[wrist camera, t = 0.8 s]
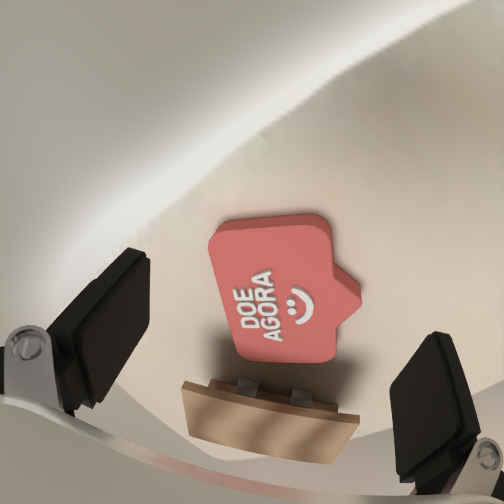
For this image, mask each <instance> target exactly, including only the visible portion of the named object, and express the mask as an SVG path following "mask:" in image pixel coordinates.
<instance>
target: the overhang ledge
mask: <svg viewBox="0 0 504 504" xmlns="http://www.w3.org/2000/svg"><path fill="white" fill-rule="evenodd" d="M259 383H260V382H258V381H253V380H249V379H244V378H239V381H238V384H237V386H235V385H231V384H227V383H223V382H219V381H215V380H211V381H210V383H209V385H208V387H206V386H202V385H198V384H195V383H191V382H188V381H185V382H184V384H183V386H182V388H181V390H182V397H183V403H184V409H185V415H186V420H187V426H188V431H189V436H192V437H195V438H198V439H202V440H205V441H209V442H213V443H216V444H220V445H224V446H228V447H232V448H236V449H240V450H244V451H249V452H253V453H258V454H263V455H268V456H273V457H279V458H285V459H291V460H297V461H303V462H311V463H318V464H327V465H331V464H332V463H333V462H334V460H335V459H336V457H337V456H338V455H339V453H340V452H341V451H342V449H343V448H344V446H345V445H346V443H347V442H348V441H349V439H350V438H351V436H352V435H353V433H354V432H355V430H356V429H357V427H358V426H359V424H360V415H352V414H344V413H338V404H331V403H324V402H317V401H312V396H313V392H311V391H305V390H299V389H294V388H293V390H292V394H291V397H288V396H282V395H277V394H272V393H267V392H262V391H258V389H259Z"/></svg>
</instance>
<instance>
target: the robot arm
mask: <svg viewBox="0 0 504 504" xmlns="http://www.w3.org/2000/svg"><path fill="white" fill-rule="evenodd" d="M149 319H150V259H149V258H146V253H145V252H143V251H139V250H136V249H133V248H127V249H126V250H125V251H124V252H123V253H122V254H121V255H119V256H118V257H117V258H116V259H115V260H114V261H113V262H112V263H111V264H110V265H109V266H108V267H107V268H106V269H105V270H104V271H103V273H102V274H101V275H100V276H99V277H98V278H97V279H94V280H93V281H91V282H90V283H89V284H88V285H87V286H86V287H85V288H84V289H83V290H82V292H81V293H80V294H79V295H78V296H77V297H76V298H75V299H74V300H73V301H72V302H71V303H70V304H69V305H68V306H67V307H66V309H65V310H64V311H63V312H62V313H61V314H60V315H59V316H58V317H57V318H56V320H55V321H54V322H53V323H52V324H51V325H50V326H49V327H48V328H47V330H44V329H43V328H41V327H38V326H35V325H26V326H23V327H19V328H18V329H16V330H14V331H13V332H12V333H11V334H10V335H9V336H8V338H7V340H6V343H5V346H3V347H0V504H504V472H503V471H502V470H501V468H502V465H503V454H502V450H501V449H500V447H499V445H498V444H497V443H496V442H495V441H494V440H492V439H491V438H487V437H484V438H481V439H479V440H477V437H476V436H477V435H478V434H480V433H481V430H480V426H479V422H478V418H477V414H476V411H475V407H474V404H473V400H472V397H471V394H470V390H469V387H468V384H467V381H466V378H465V375H464V372H463V369H462V366H461V363H460V360H459V357H458V354H457V352H456V349H455V346H454V343H453V341H452V338H451V336H450V335H449V334H446V333H442V332H437V331H434V332H433V333H432V334H429V335H427V337H426V338H425V339H424V341H423V342H422V344H421V345H420V347H419V348H418V349H417V351H416V352H415V354H414V355H413V356H412V358H411V359H410V360H409V362H408V363H407V365H406V366H405V367H404V368H403V370H402V371H401V372H400V374H399V375H398V376H397V378H396V379H395V380H394V381H393V383H392V384H391V387H390V391H389V392H390V402H391V411H392V421H393V431H394V443H395V457H396V472H397V474H398V475H399V476H400V483H413V482H415V488H414V489H413V491H412V492H411V493H410V495H409V496H371V495H351V494H339V493H327V492H318V491H310V490H302V489H296V488H289V487H283V486H277V485H272V484H266V483H262V482H256V481H252V480H247V479H243V478H239V477H234V476H231V475H227V474H223V473H219V472H215V471H212V470H208V469H204V468H201V467H198V466H195V465H191V464H188V463H185V462H182V461H179V460H176V459H173V458H170V457H167V456H164V455H162V454H159V453H156V452H153V451H151V450H148V449H146V448H143V447H141V446H138V445H136V444H133V443H131V442H128V441H126V440H123V439H121V438H118V437H116V436H114V435H112V434H109V433H107V432H105V431H103V430H101V429H98V428H96V427H94V426H92V425H90V424H88V423H86V422H84V421H82V420H79V419H78V417H77V413H76V410H78V408H79V407H80V405H81V404H83V405H85V406H87V407H89V408H91V409H93V407H94V405H95V404H96V402H98V403H101V402H102V401H103V400H104V398H105V396H106V395H107V393H108V391H109V390H110V388H111V386H112V385H113V383H114V381H115V380H116V378H117V376H118V375H119V373H120V371H121V370H122V368H123V367H124V365H125V363H126V362H127V360H128V358H129V357H130V355H131V354H132V352H133V350H134V349H135V347H136V346H137V344H138V342H139V341H140V339H141V338H142V336H143V334H144V333H145V331H146V330H147V328H148V325H149Z"/></svg>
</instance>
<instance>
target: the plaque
mask: <svg viewBox="0 0 504 504" xmlns="http://www.w3.org/2000/svg"><path fill="white" fill-rule="evenodd" d="M208 251H209V255H210V259H211V262H212V266H213V270H214V273H215V277H216V281H217V284H218V288H219V292H220V295H221V299H222V302H223V306H224V309H225V313H226V316H227V320H228V323H229V327H230V330H231V334H232V337H233V340H234V344H235V347H236V350H237V352H238V354H239V355H240V356H241V357H243V358H244V359H246V360H249V361H253V362H275V363H323V362H326V361H329V360H331V359H332V358H333V357H334V356H335V354H336V345H337V327H338V326H339V325H340V324H341V323H343V322H344V321H345V320H346V319H347V318H348V317H350V316H351V315H352V314H353V313H354V312H355V311H356V310H358V309H359V308H360V306H361V305H362V299H361V288H360V285H359V283H357V282H356V281H355V280H354V279H353V278H351V277H350V276H349V275H348V274H347V273H345V272H344V271H343V270H342V269H340V268H339V267H338V266H337V265H336V264H335V263H334V259H333V246H332V234H331V228H330V226H329V224H328V223H327V221H325V220H324V219H323V218H321V217H319V216H317V215H313V214H298V215H286V216H274V217H263V218H252V219H241V220H231V221H227V222H225V223H223V224H222V225H221V226H219V228H218V229H217V230H216V232H215V233H214V235H213V236H212V237H211V239H210V240H209V244H208Z"/></svg>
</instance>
